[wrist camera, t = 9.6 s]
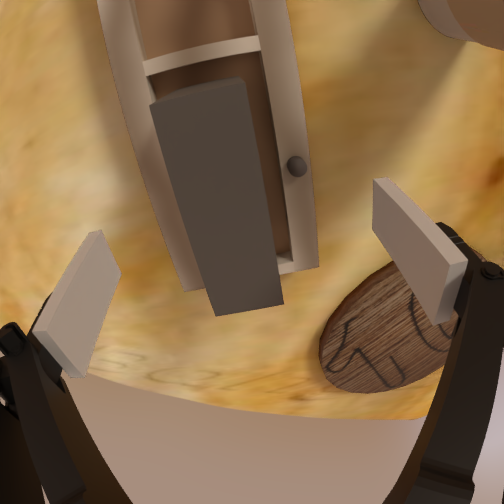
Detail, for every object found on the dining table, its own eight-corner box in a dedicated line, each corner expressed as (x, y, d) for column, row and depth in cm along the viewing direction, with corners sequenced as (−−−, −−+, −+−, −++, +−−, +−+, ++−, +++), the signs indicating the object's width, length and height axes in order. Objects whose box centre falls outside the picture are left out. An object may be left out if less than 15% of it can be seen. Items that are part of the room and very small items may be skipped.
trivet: (371, 398, 45) (375, 407, 44) (273, 339, 34) (276, 353, 33) (498, 309, 37) (504, 318, 35) (461, 196, 26) (472, 205, 24)
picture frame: (238, 75, 18) (245, 82, 11) (267, 232, 25) (283, 304, 18) (174, 90, 18) (144, 106, 12) (214, 243, 25) (212, 316, 18)
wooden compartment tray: (241, -133, 8) (244, -155, 5) (311, 248, 27) (321, 273, 24) (95, -98, 9) (79, -113, 6) (187, 271, 28) (183, 298, 25)
